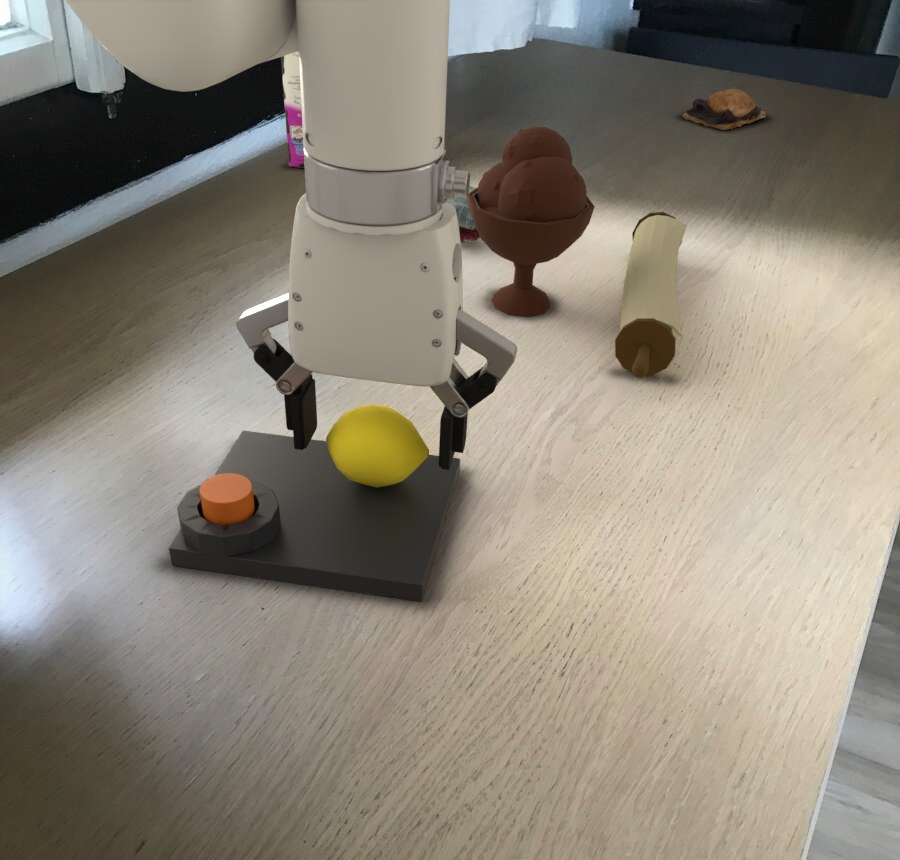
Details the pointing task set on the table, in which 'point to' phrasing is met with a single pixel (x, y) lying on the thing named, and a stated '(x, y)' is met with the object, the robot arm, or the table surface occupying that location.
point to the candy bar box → (293, 109)
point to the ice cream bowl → (530, 212)
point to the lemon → (376, 446)
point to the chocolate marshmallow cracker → (725, 110)
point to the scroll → (650, 296)
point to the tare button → (227, 498)
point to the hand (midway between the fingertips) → (376, 448)
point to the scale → (321, 522)
